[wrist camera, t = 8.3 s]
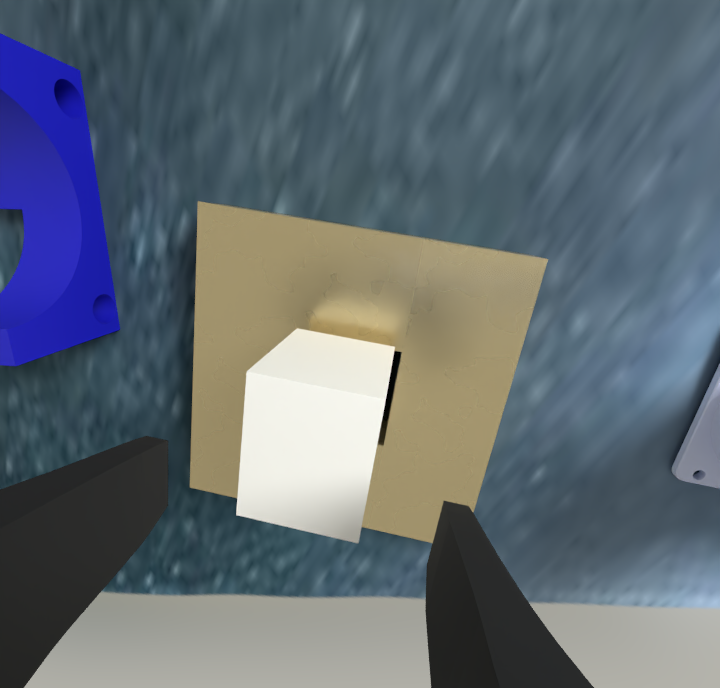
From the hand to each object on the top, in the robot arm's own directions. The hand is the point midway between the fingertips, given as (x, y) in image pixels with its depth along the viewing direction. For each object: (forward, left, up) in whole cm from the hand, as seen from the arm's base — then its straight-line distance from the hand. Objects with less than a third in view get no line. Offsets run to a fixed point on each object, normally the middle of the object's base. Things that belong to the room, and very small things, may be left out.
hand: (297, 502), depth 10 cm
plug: (0, 0, -10) cm, 10 cm away
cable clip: (+16, -5, -11) cm, 20 cm away
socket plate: (0, 0, -10) cm, 10 cm away
